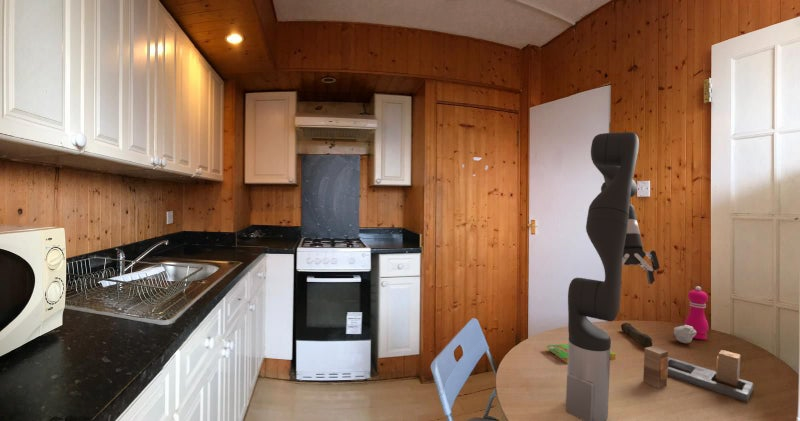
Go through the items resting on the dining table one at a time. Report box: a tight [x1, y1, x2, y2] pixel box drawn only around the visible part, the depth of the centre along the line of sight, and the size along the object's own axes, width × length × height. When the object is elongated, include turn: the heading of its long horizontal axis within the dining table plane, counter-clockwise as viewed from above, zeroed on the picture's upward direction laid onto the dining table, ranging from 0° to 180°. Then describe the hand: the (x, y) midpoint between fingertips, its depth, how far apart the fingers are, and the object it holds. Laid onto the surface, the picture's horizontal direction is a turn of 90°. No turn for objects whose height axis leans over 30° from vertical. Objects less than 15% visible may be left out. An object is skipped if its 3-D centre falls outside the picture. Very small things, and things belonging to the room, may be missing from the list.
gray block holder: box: [668, 349, 754, 403], centre depth 103 cm, size 20×10×10 cm, turn 38°
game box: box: [545, 343, 617, 364], centre depth 118 cm, size 3×10×20 cm
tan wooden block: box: [642, 345, 669, 389], centre depth 100 cm, size 4×4×10 cm
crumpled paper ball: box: [673, 324, 696, 344], centre depth 130 cm, size 6×7×7 cm
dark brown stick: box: [620, 322, 653, 349], centre depth 131 cm, size 19×4×5 cm, turn 168°
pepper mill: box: [684, 285, 710, 340], centre depth 136 cm, size 7×7×20 cm
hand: (635, 283), depth 111 cm, fingers open, 8 cm apart
